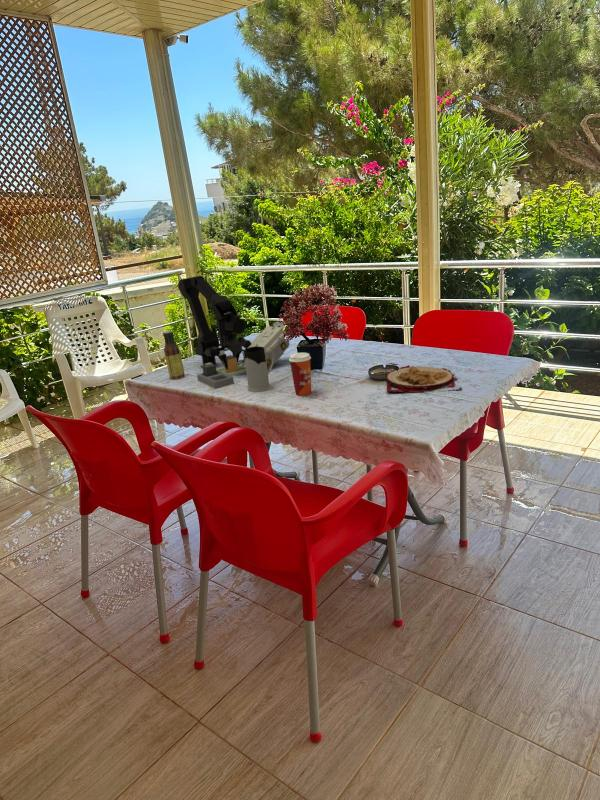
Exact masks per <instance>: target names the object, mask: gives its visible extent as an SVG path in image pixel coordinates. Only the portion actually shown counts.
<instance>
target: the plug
mask: <svg viewBox="0 0 600 800" xmlns="http://www.w3.org/2000/svg"><path fill="white" fill-rule="evenodd" d="M226 360H227V365H228V369H226V368H225V372H226V373H232V372H235V371H238V365H236V363H237V358H236V357H234V356H233V354H230V355H226Z"/></svg>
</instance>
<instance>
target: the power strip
mask: <svg viewBox="0 0 600 800" xmlns="http://www.w3.org/2000/svg"><path fill="white" fill-rule="evenodd" d="M216 371H217V370H216ZM196 376H197V377H196V378H197V381H198V382H200V383H202V384H205V385H206V386H209V387H211V388H213V389H215V390H216V389H220V388H223V387H226V386H230V385H233V384H235V381H234V376H229V375H226V374H224V373H222V372H219V371H217V374H216V375H212V376H208V377H206V376H204V374H203V372H201V373H197V374H196Z"/></svg>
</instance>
